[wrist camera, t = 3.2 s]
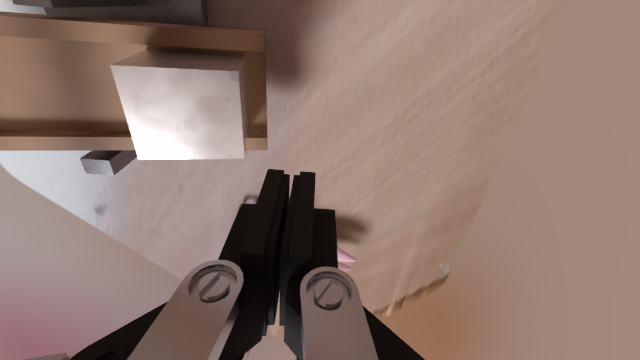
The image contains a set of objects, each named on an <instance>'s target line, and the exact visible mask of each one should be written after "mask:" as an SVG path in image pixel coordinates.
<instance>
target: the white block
mask: <svg viewBox="0 0 640 360" xmlns="http://www.w3.org/2000/svg"><path fill="white" fill-rule="evenodd" d="M110 67H111V70H112V73H113V77H114V80H115V83H116V87H117V90H118V93H119V97H120V100H121V103H122V107H123V110H124V113H125V117H126V120H127V123H128V127H129V130H130V133H131V137H132V140H133V143H134V147H135V150H136V153H137V156H138V160H163V159H245V151H246V143H247V134H248V114H247V97H246V80H245V64H244V55H237V54H220V53H202V52H185V51H168V50H151V49H145V50H143V51H141V52H139V53H136V54H134V55H132V56H130V57H127V58H125V59H123V60H121V61H118V62H116V63H114V64H112V65H110Z"/></svg>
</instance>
